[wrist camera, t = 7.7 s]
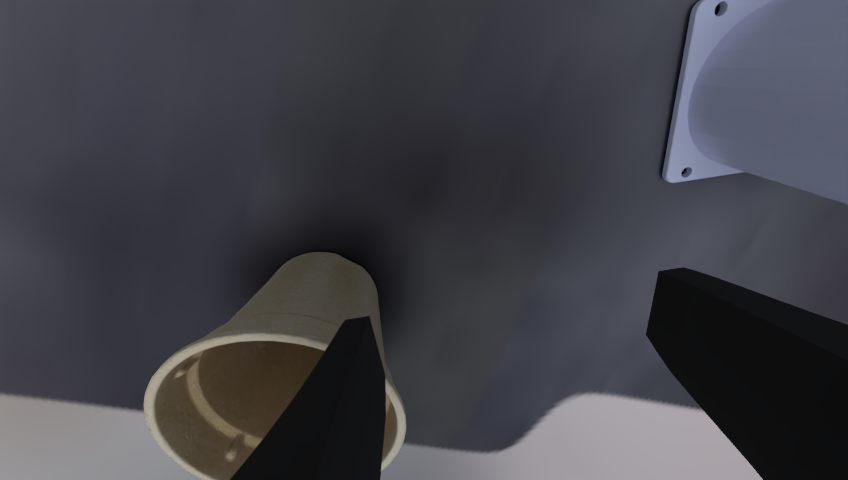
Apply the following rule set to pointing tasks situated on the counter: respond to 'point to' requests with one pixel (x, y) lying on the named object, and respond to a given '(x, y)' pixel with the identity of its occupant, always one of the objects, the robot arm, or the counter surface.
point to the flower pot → (262, 367)
